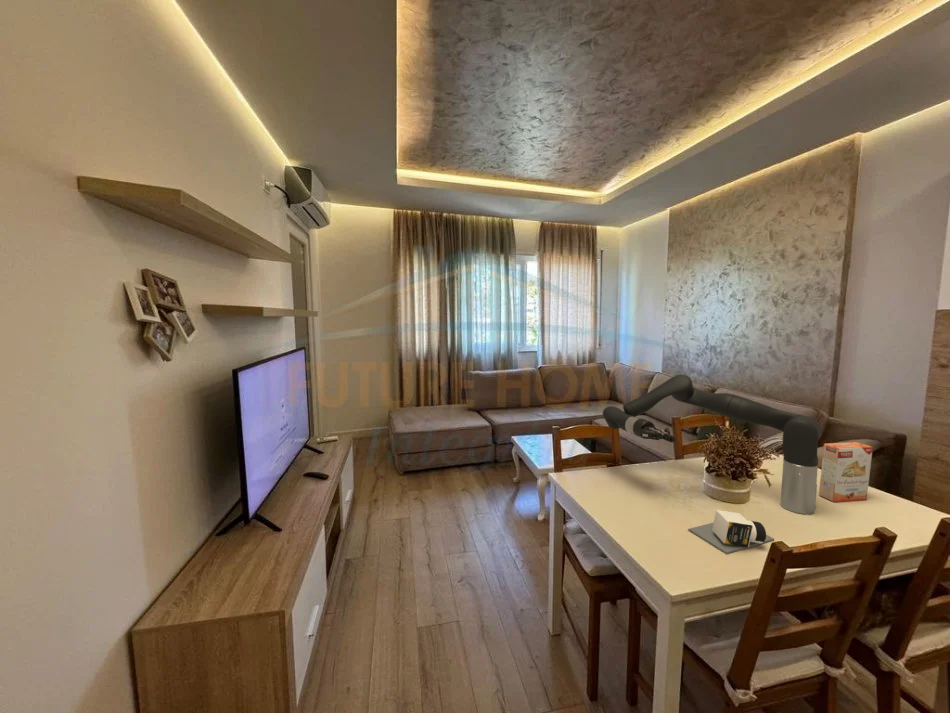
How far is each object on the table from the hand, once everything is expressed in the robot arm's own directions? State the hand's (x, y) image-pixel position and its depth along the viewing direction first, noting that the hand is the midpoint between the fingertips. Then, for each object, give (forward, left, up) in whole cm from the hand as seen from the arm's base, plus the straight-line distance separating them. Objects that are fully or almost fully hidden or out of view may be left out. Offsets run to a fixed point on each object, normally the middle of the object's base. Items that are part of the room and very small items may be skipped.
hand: (674, 439), depth 136 cm
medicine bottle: (+7, +24, -19) cm, 31 cm away
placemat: (0, +23, -24) cm, 33 cm away
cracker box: (-62, +20, -24) cm, 69 cm away
